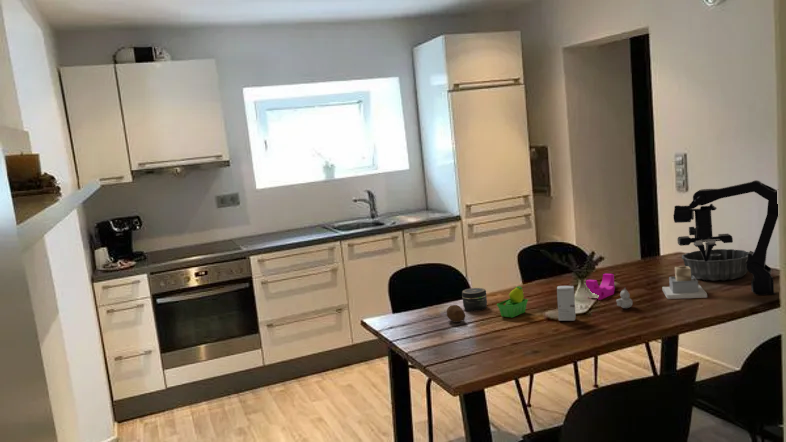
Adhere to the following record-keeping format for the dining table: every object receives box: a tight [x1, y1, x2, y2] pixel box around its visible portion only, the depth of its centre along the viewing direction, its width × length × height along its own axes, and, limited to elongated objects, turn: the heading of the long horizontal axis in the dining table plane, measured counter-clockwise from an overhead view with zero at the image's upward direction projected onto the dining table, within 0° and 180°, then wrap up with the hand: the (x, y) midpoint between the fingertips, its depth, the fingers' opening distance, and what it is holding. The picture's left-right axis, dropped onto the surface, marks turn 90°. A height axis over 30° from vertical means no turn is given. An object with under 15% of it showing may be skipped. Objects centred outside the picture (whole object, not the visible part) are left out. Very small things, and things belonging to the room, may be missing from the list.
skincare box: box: [556, 285, 577, 322], centre depth 228 cm, size 6×4×12 cm
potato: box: [446, 304, 466, 323], centre depth 243 cm, size 7×10×6 cm
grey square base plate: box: [661, 276, 708, 300], centre depth 245 cm, size 14×14×6 cm
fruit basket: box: [496, 285, 529, 319], centre depth 243 cm, size 11×9×11 cm
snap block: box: [674, 265, 691, 281], centre depth 245 cm, size 5×5×6 cm
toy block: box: [585, 273, 616, 301], centre depth 257 cm, size 15×6×8 cm, turn 130°
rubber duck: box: [615, 287, 633, 309], centre depth 235 cm, size 5×7×8 cm
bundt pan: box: [681, 248, 750, 282], centre depth 266 cm, size 26×26×10 cm
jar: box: [461, 287, 488, 312], centre depth 258 cm, size 10×10×8 cm
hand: (705, 261), depth 245 cm, fingers closed
